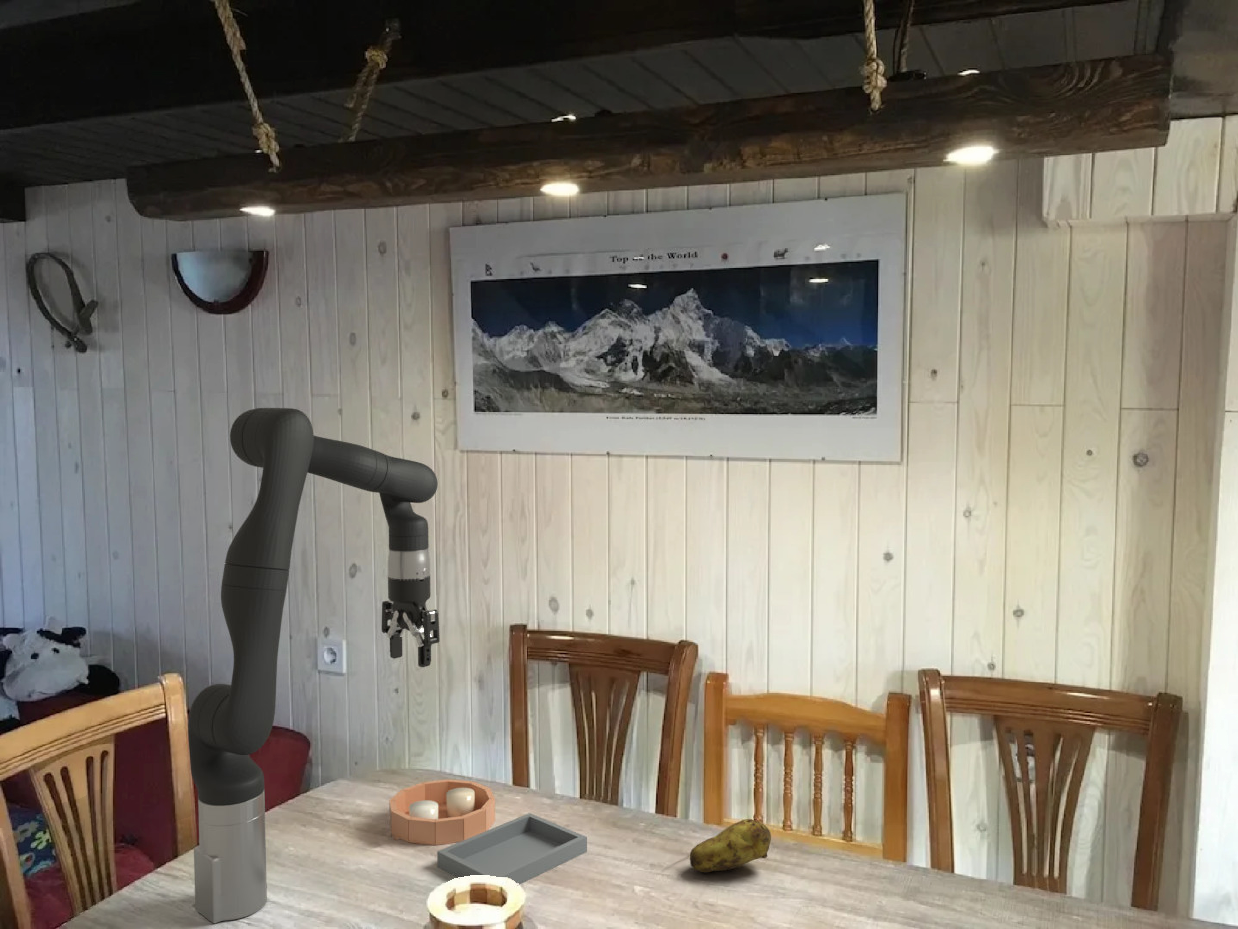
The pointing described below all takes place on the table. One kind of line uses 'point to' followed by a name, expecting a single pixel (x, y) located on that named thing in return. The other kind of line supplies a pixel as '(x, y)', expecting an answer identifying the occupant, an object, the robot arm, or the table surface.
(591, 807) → the table surface
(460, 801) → the pebble
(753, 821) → the potato
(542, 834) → the tray
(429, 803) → the pebble
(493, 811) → the bowl
